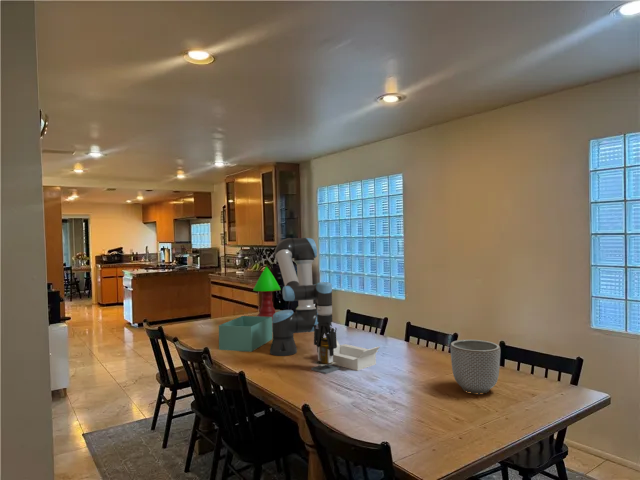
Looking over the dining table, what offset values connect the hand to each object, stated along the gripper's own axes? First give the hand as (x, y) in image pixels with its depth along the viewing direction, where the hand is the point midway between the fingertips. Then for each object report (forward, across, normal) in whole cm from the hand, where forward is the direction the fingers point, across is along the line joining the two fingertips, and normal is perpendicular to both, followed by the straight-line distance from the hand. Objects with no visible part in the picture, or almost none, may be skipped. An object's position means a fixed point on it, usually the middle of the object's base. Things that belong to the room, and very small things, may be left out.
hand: (325, 361), depth 218 cm
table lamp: (+4, -96, +40) cm, 104 cm away
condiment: (+1, 0, 0) cm, 1 cm away
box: (+4, -72, +5) cm, 72 cm away
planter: (+5, +67, +21) cm, 70 cm away
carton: (+4, +1, +16) cm, 17 cm away
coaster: (+4, 0, 0) cm, 4 cm away
